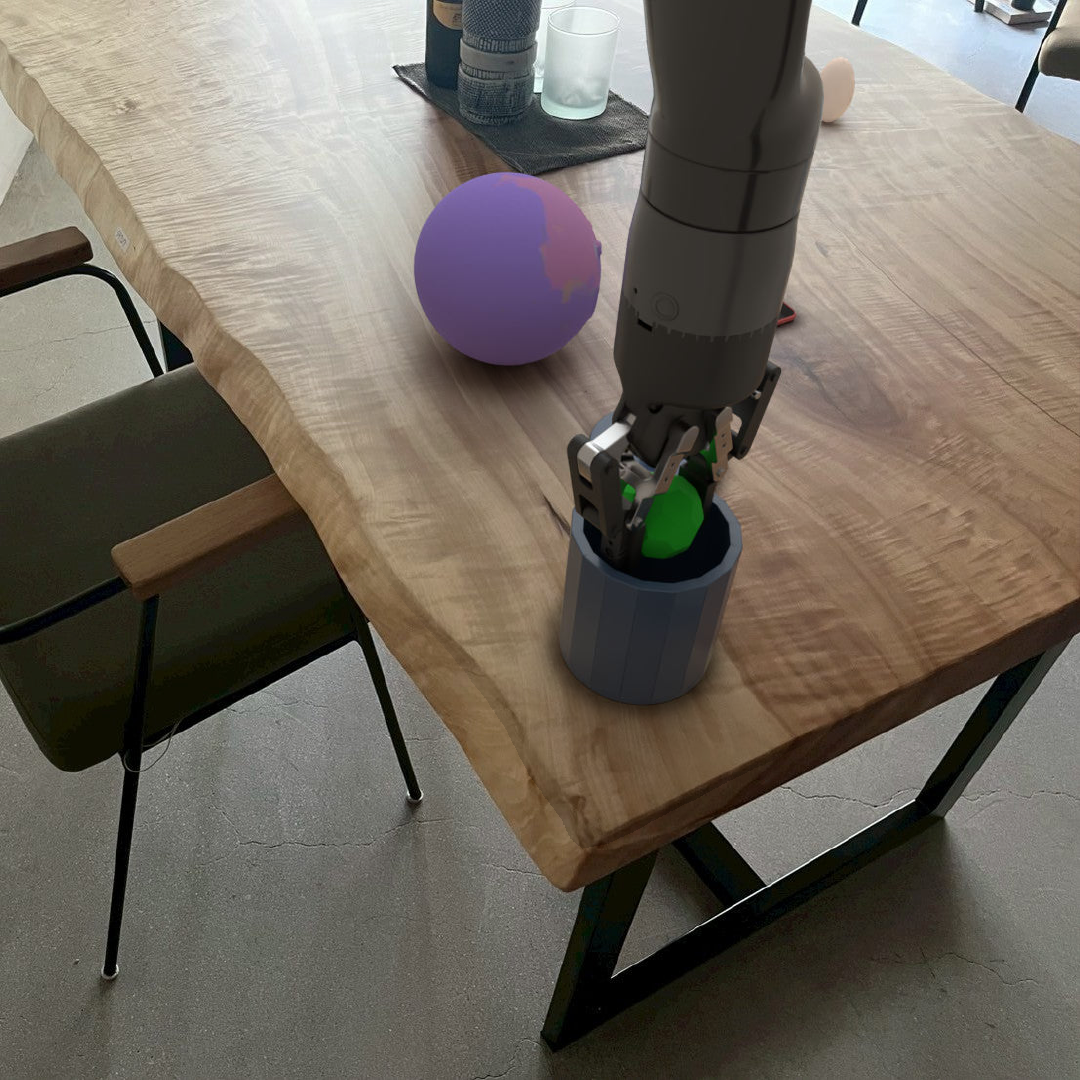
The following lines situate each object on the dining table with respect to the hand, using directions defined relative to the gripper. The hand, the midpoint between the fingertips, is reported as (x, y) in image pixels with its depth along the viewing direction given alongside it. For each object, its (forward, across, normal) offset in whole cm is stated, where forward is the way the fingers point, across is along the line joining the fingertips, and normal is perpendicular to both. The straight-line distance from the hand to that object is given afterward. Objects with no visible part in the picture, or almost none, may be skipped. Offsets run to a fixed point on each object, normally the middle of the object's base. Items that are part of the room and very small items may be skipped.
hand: (654, 540), depth 61 cm
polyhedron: (+1, 0, 0) cm, 1 cm away
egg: (+9, -75, -43) cm, 87 cm away
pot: (+10, 0, 0) cm, 10 cm away
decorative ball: (+10, -14, -30) cm, 35 cm away
